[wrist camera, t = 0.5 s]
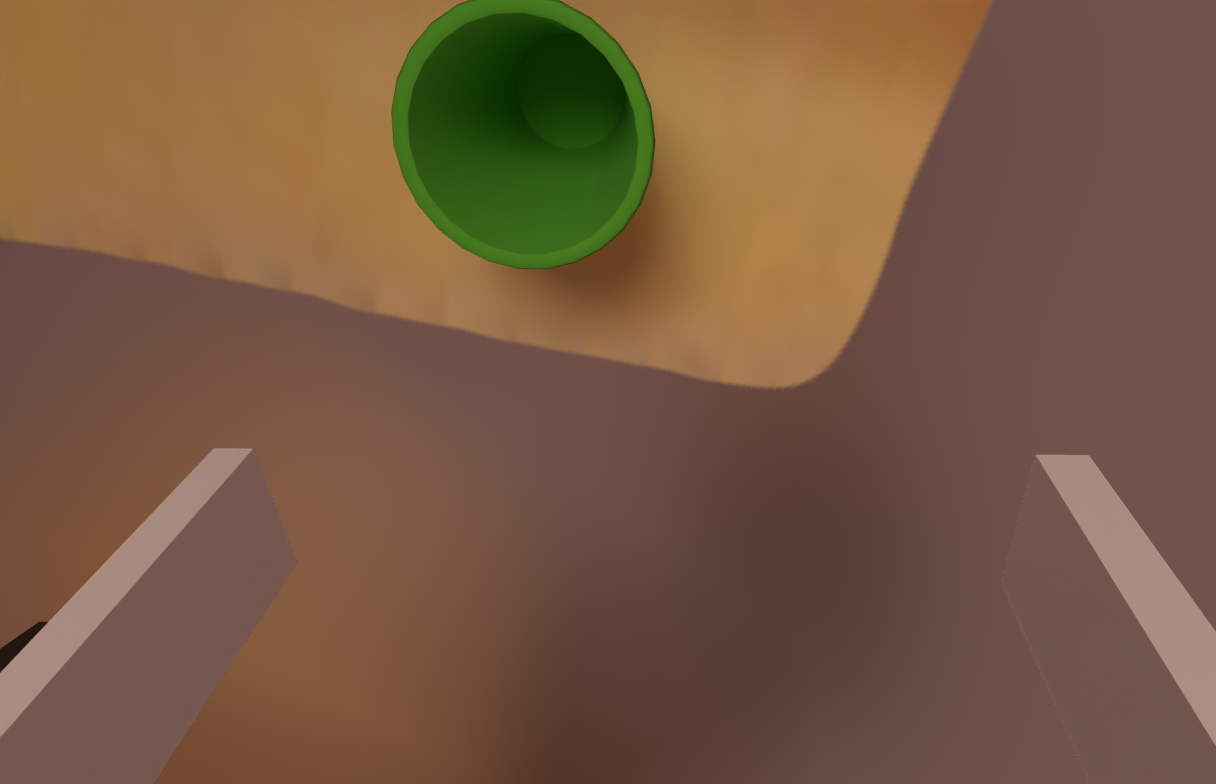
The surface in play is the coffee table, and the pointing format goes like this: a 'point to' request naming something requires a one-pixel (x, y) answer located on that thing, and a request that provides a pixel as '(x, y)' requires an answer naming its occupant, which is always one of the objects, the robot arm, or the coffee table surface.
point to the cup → (523, 131)
